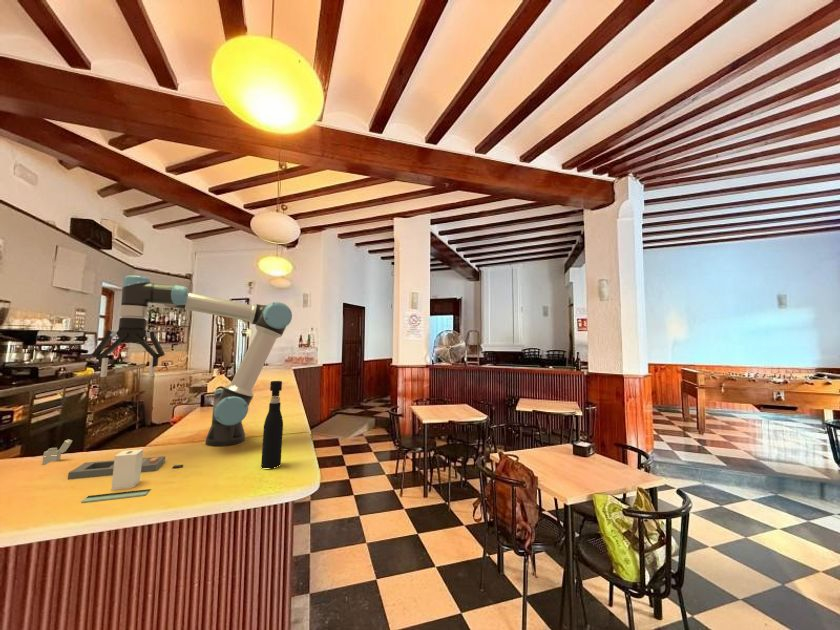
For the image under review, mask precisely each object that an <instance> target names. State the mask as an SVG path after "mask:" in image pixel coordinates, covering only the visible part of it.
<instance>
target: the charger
mask: <svg viewBox="0 0 840 630" xmlns="http://www.w3.org/2000/svg"><path fill="white" fill-rule="evenodd" d="M143 455H144V449H143V448H141V449H130V450H128V449H127V450H122V451H120V452H118V453H117V454H115V455H114V459H113V460H114V469H113V475H112V479H111V489H110V490H111V491H115V490H123V489H124V490H125V489H133V488H135V486H137V485H138V484H139V483H140V482H141V477H142V476H141V475H142V473H141V466H142V458H143Z"/></svg>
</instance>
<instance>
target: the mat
mask: <svg viewBox="0 0 840 630" xmlns="http://www.w3.org/2000/svg"><path fill="white" fill-rule="evenodd" d="M151 490H152V488H149V489H140V490H137V489H136V490H130V491H128V490H127V491H120V492H112V493H104V494H93V495H87V496H86V498H84V499H83V500H82V501H80V503H81V504H86V503H93V502H102V501H110V500H111V501H112V500H120V499H128V498H129V499H130V498H137V497H145V496H147V495H148V494H149V492H150V491H151Z"/></svg>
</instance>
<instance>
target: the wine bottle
mask: <svg viewBox="0 0 840 630" xmlns="http://www.w3.org/2000/svg"><path fill="white" fill-rule="evenodd" d="M282 388H283V381H281V380H271V381H270V386H269V391H271V398H270V402H269V403H268V405H269V406H268V412H267V415H266V418H265V419H264V424H263V432H262V433H263V435H262V449H261V462H260V463H261V465H260V468H261V467H262V468H274V467H277V466H279V465H280V464H282V461H281V460H282V450H283V449H282V448H283V432H284V419H283V416H282V412H281V404H282V403H281V398H280V391H282ZM280 466H281V465H280ZM262 468H261V469H262Z"/></svg>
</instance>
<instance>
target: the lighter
mask: <svg viewBox="0 0 840 630" xmlns="http://www.w3.org/2000/svg"><path fill="white" fill-rule="evenodd" d="M72 442H73V440H72V439H69V438H68V439H65V440H64V442H63V443H62V445H61V446H60V448H59V449H58V447H51V448H49V447H48V449H47V450H46V451H44V452H43V456H42V461H41V462H42V463H41V465H42V466H45V465H47V464H49V463H51V462H52V463H53V462H59V461H61V457H62V454H63V453H65V452H66V451H67V450H68V449H69V447H70V446H71V444H73V443H72ZM51 455H57V456H51ZM44 456H46V457H44Z"/></svg>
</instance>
